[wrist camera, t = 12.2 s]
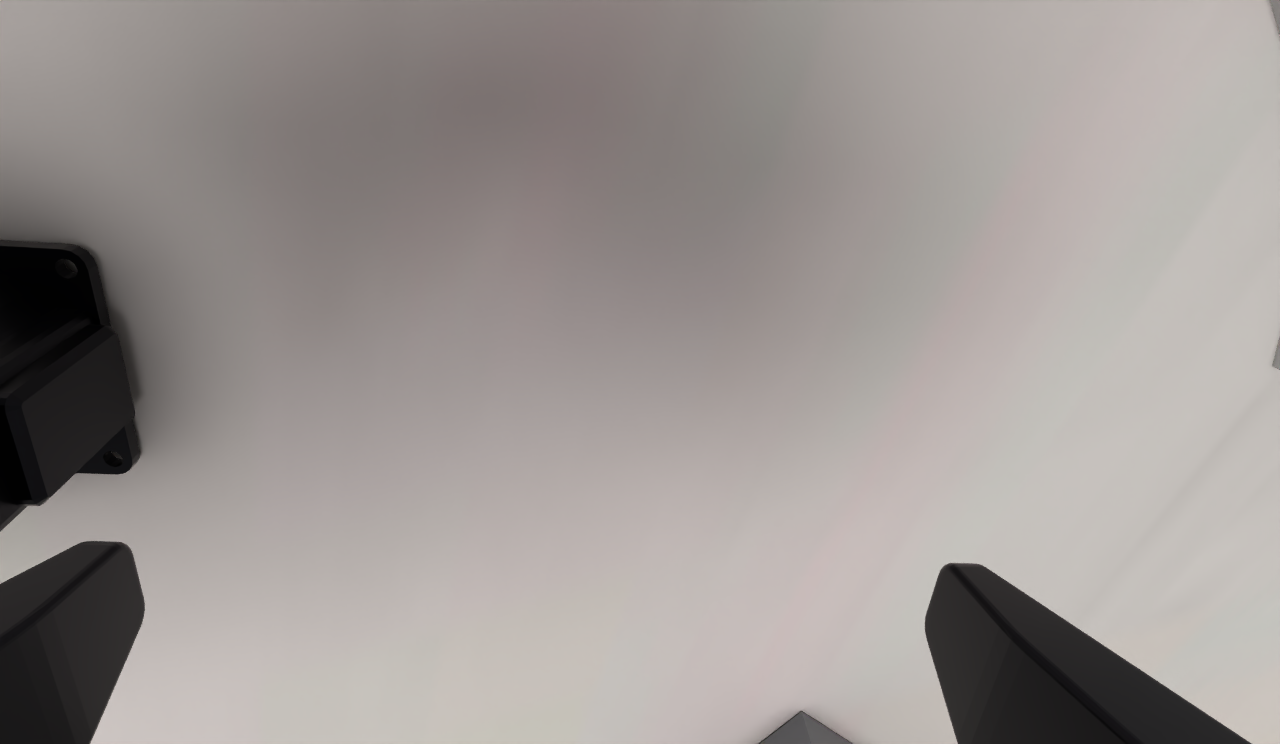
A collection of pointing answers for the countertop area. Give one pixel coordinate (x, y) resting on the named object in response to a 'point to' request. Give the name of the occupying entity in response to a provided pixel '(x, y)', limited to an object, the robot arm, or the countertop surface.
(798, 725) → the end cap
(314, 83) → the countertop surface
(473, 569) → the countertop surface
